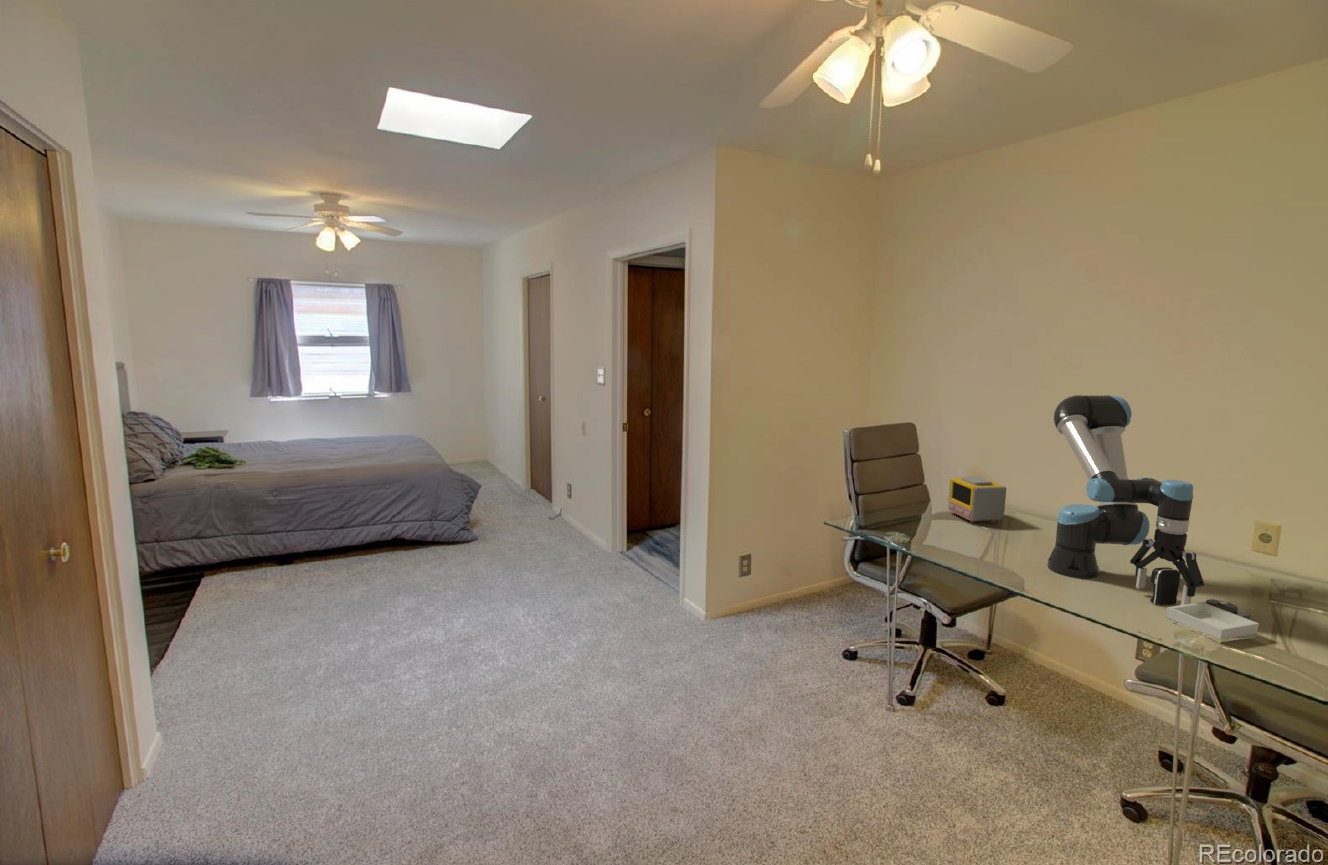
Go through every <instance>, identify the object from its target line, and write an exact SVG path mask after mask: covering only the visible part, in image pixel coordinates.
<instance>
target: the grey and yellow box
mask: <svg viewBox="0 0 1328 865" xmlns="http://www.w3.org/2000/svg"><path fill="white" fill-rule="evenodd" d="M1006 496H1007V488H1006V486H1004V485H1002V484H999V483H996V482H995V481H991V480H989V479H986V478H984V477H983V478H982V477H980V476H974V475H973V476H972V475H971V476H969V475H967V476H962V477H952V478H950V479H949V491H948V505H947V509H948V511H950V512H952V513H954V516H957V515H958V516H960V517H961V518H964V519H965V520H968V521H970V524H974V522H981V521H982V522H983V521H984V522H985V521H992V522H993V523H995V522H996V521H1003V520H1004V518H1005V508H1006V498H1007V497H1006Z"/></svg>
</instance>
